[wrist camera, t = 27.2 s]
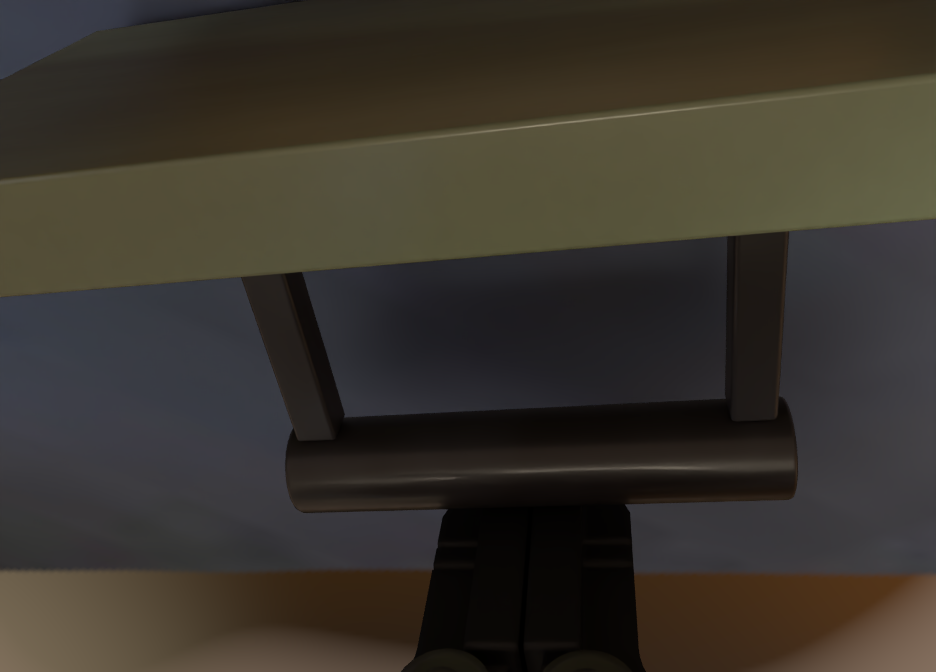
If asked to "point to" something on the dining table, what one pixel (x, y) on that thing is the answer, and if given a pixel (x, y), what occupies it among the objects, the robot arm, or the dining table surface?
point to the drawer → (477, 199)
